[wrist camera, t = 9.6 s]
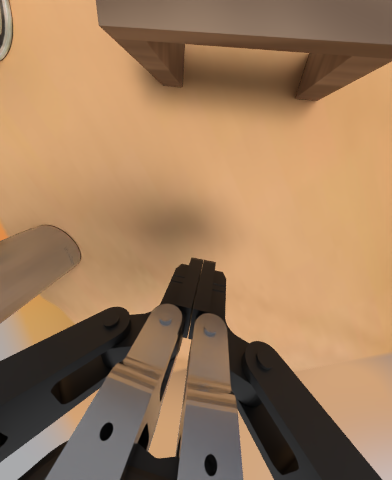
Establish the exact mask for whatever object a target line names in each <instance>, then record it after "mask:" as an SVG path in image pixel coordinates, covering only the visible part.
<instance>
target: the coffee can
mask: <svg viewBox="0 0 392 480" xmlns="http://www.w3.org/2000/svg"><path fill="white" fill-rule="evenodd" d="M12 34H13V32H12V14H11V9H10V4H9V0H0V60H2V59H3V58H4V57H5V56H6V54H7V53H8V51H9V49H10V45H11V41H12Z"/></svg>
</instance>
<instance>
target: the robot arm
mask: <svg viewBox="0 0 392 480" xmlns="http://www.w3.org/2000/svg"><path fill="white" fill-rule="evenodd" d="M79 261H80V252H79V249H78V247H77V245H76V244H75V242H74V241H73V240H72V239H71V238H70V237H69V236H68V235H67V234H66V233H64V232H63V231H61V230H59V229H58V228H55V227H53V226H48V225H42V226H39V227H36V228H34V229H29V230H26V231H24V232H21V233H19V234H16V235H14V236H12V237H9V238H7V239H4V240H2V241H0V323H2V322H3V321H4V320H6V319H7V318H8V317H10V316H11V315H12V314H13V313H15V312H16V311H17V310H19V309H20V308H21V307H23V306H24V305H25V304H26V303H28V302H29V301H30V300H32V299H33V298H34V297H36V296H37V295H38V294H40V293H41V292H42V291H43V290H45V289H46V288H47V287H49V286H50V285H51V284H53V283H54V282H55V281H56V280H58V279H59V278H60V277H62V276H63V275H64V274H66V273H67V272H68V271H70V270H71V269H72V268H73V267H75V266H76V265H77V264H78V263H79ZM202 264H203V267H202ZM215 264H216V262H212V261H207V260H204V263H203V260H202V259H197V258H191V261H190V264H189V265H185V264H181V265H180V266H179V267H177V268H176V270H175V272H174V274H173V277H172V279H171V282H170V283H169V286H168V288H167V290H166V293H165V295H164V297H163V299H162V302H161V304H160V305H159V306H157V307H156V308H155V309H154V310H153V311H151V312H149V313H146V314H136V315H129V312H128V311H127V310H126V309H124V308H122V307H111V308H108V309H106V310H104V311H102V312H100V313H98V314H96V315H94V316H92V317H90V318H88V319H85V320H83V321H81V322H79V323H77V324H75V325H73V326H71V327H69V328H67V329H65V330H63V331H61V332H59V333H57V334H55V335H53V336H51V337H49V338H47V339H45V340H43V341H41V342H38V343H37V344H34V345H33V346H30V347H28V348H26V349H24V350H22V351H20V352H18V353H16V354H14V355H12V356H10V357H8V358H6V359H4V360H2V361H0V462H1V461H3V460H4V459H5V458H7V457H8V456H9V455H10V454H12V453H13V452H15V451H16V450H17V449H19V448H20V447H21V446H23V445H24V444H25V443H27V442H28V441H29V440H31V439H32V438H33V437H35V436H36V435H37V434H39V433H40V432H41V431H43V430H44V429H45V428H47V427H48V426H50V425H51V424H52V423H53V422H55V421H56V420H58V419H59V418H60V417H62V416H63V415H64V414H66V413H67V412H68V411H70V410H71V409H72V408H74V407H75V406H76V405H78V404H79V403H80V402H82V401H83V400H84V399H86V398H87V397H88V396H90V395H91V394H92V393H94V392H95V391H96V390H98V389H99V388H100V387H101V388H100V389H99V391H98V393H97V394H96V396H95V398H94V399H93V401H92V402H91V404H90V406H89V407H88V409H87V411H86V413H85V414H84V416H83V418H82V419H81V421H80V423H79V424H78V426H77V427H76V429H75V431H74V433H73V434H72V436H71V438H70V439H69V440H68V441H66V442H65V443H63V444H61V445H59V446H58V447H57V448H55V449H54V450H52V451H51V452H50V453H48V454H47V455H46V456H45V457H44V458H42V459H41V460H40V461H39V462H38V463H37V464H35V465H34V466H33V467H32V468H31V469H30V470H28V471H27V472H26V473H25V474H24V475H23V476H21V477H20V478H19V479H18V480H243V471H242V459H241V447H240V435H239V423H238V412H237V409H238V411H239V413H240V415H241V417H242V419H243V420H244V422H245V424H246V426H247V428H248V430H249V432H250V434H251V436H252V438H253V440H254V442H255V443H256V446H257V447H258V449H259V451H260V453H261V455H262V457H263V459H264V461H265V463H266V465H267V467H268V468H269V470H270V472H271V474H272V476H273V478H274V480H382V479H381V478H380V476H379V475H378V474H377V473H376V472H375V470H374V469H373V468H372V467H371V466H370V464H369V463H368V462H367V461H366V460H365V458H364V457H363V456H362V455H361V454H360V452H359V451H358V450H357V449H356V447H355V446H354V445H353V444H352V443H351V441H350V440H349V439H348V438H347V437H346V435H345V434H344V433H343V432H342V430H341V429H340V428H339V427H338V426H337V424H336V423H335V422H334V421H333V420H332V418H331V417H330V416H329V415H328V414H327V412H326V411H325V410H324V409H323V408H322V406H321V405H320V404H319V403H318V401H317V400H316V399H315V398H314V397H313V396H312V394H311V393H310V392H309V391H308V389H307V388H306V387H305V386H304V385H303V384H302V382H301V381H300V380H299V378H297V376H296V375H295V374H294V372H293V371H292V370H291V369H290V368H289V366H288V365H287V364H286V363H285V362H284V360H283V359H282V358H281V357H280V356H279V354H278V353H277V352H276V351H275V350H274V349H273V348H272V347H271V346H269V345H268V344H266V343H264V342H260V341H254V342H251V343H250V344H249V343H248V342H246V341H244V340H242V339H241V338H239V337H237V336H236V335H235V334H234V333H232V331H231V330H230V329H229V328H228V326H227V324H226V320H225V301H226V278H225V276H224V274H223V272H219V271H215ZM201 270H202V271H201ZM190 322H191V325H190ZM189 327H190V331H189ZM188 331H189V337H188V339H192V341H191V346H190V352H189V357H188V365H187V374H186V381H185V389H184V397H183V404H182V412H181V419H180V426H179V433H178V441H177V449H176V456H175V457H169V458H161V459H159V458H155V457H154V456H152V455H151V454H150V453H149V452H148V450H149V447H150V444H151V441H152V438H153V435H154V431H155V428H156V425H157V421H158V418H159V414H160V409H161V406H162V402H163V399H164V396H165V393H166V390H167V386H168V383H169V380H170V377H171V374H172V371H173V368H174V365H175V362H176V359H177V356H178V352H179V350H180V346H181V342H182V338H183V337H184V338H187V336H188Z"/></svg>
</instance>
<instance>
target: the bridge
mask: <svg viewBox="0 0 392 480" xmlns="http://www.w3.org/2000/svg"><path fill="white" fill-rule="evenodd" d="M96 5H97V14H98V22H99V26H100V27H101V28H102V29H103V30H104V31H105V32H107V33H108V34H109V35H110V36H111V37H112V38H113V39H114V40H115V41H116V42H117V43H118V44H119V45H121V46H122V47H123V48H124V49H125V50H126V51H127V52H128V53H129V54H130V55H131V56H132V57H133V58H135V59H136V60H137V61H138V62H139V63H140V64H141V65H142V66H143V67H144V68H145V69H146V70H147V71H149V72H150V73H151V74H152V75H153V76H154V77H155V78H156V79H157V80H158V81H159V82H160V83H161V84H163V85H164V86H174V87H183V68H184V49H185V44H194V45H208V46H222V47H235V48H249V49H263V50H277V51H290V52H304V53H310V54H309V57H308V60H307V63H306V66H305V69H304V72H303V75H302V78H301V81H300V85H299V88H298V91H297V94H296V97H295V99H305V100H315V101H317V100H319V99H321V98H323V97H325V96H327V95H329V94H331V93H333V92H334V91H336V90H338V89H340V88H342V87H344V86H346V85H348V84H350V83H352V82H353V81H355V80H357V79H359V78H361V77H363V76H365V75H367V74H369V73H370V72H372V71H374V70H376V69H378V68H380V67H382V66H384V65H386V64H387V63H389V62H391V61H392V0H96Z"/></svg>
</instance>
